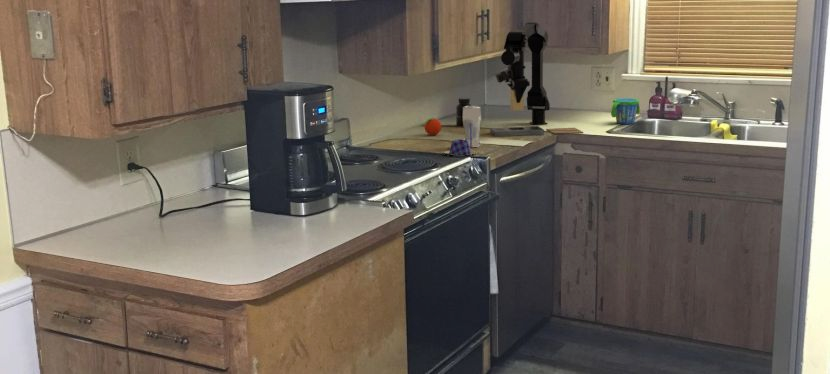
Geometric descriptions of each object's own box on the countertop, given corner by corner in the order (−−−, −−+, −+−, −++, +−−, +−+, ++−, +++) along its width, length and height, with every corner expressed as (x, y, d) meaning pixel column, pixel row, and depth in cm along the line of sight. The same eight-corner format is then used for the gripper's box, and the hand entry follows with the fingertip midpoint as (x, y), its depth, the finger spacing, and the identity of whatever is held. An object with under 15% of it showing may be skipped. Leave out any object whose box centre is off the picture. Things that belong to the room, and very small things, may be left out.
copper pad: (546, 129, 378) (546, 128, 377) (574, 128, 379) (574, 127, 379) (554, 134, 366) (554, 133, 366) (583, 133, 367) (583, 132, 367)
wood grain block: (510, 109, 370) (510, 89, 368) (520, 108, 370) (520, 89, 369) (512, 110, 366) (512, 90, 364) (523, 110, 366) (523, 90, 364)
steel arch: (490, 132, 374) (490, 127, 373) (537, 130, 376) (537, 125, 376) (495, 136, 364) (495, 131, 364) (543, 134, 366) (544, 129, 366)
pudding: (456, 150, 337) (455, 136, 336) (483, 153, 330) (483, 139, 329) (437, 156, 328) (436, 141, 327) (464, 159, 321) (464, 144, 320)
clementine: (432, 137, 366) (431, 119, 364) (419, 135, 371) (418, 118, 369) (444, 134, 372) (444, 117, 370) (432, 133, 376) (431, 116, 375)
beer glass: (469, 148, 339) (468, 108, 335) (459, 146, 345) (459, 106, 342) (485, 147, 342) (484, 107, 339) (475, 144, 348) (474, 105, 345)
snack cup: (619, 126, 382) (620, 102, 380) (603, 123, 391) (603, 99, 389) (647, 123, 390) (648, 99, 388) (630, 120, 399) (631, 97, 397)
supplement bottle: (454, 126, 392) (453, 99, 389) (459, 124, 398) (459, 97, 395) (469, 127, 389) (469, 99, 386) (474, 125, 395) (474, 97, 393)
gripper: (492, 62, 372) (492, 100, 376) (502, 65, 354) (502, 105, 357) (518, 61, 373) (518, 99, 377) (530, 64, 355) (529, 104, 359)
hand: (516, 102), depth 367 cm, fingers closed on wood grain block, 4 cm apart
